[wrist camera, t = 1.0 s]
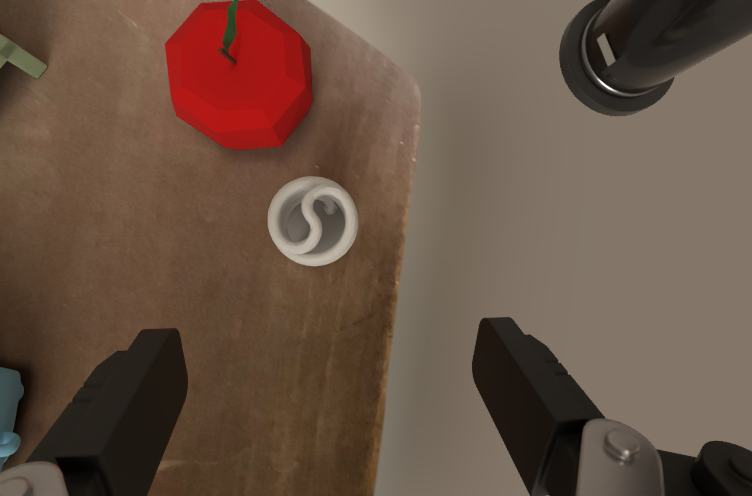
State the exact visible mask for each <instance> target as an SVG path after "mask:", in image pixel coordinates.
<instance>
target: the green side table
mask: <svg viewBox="0 0 752 496" xmlns="http://www.w3.org/2000/svg"><path fill="white" fill-rule="evenodd" d="M6 61H9V62H10V63H12V64H14V65H15V66H17V67H19V68H20V69H22V70H23V71H25V72H27V73H28V74H30V75H32V76H33V77H35V78H37V79H38V78H39V77H40V76H41V74H42V73H43V72H44V71H45V70H46V68H47V67H48V66H47V65H46V64H45V63H43V62H42V61H40V60H39V59H37V58H36V57H34V56H33V55H31V54H30V53H28V52H27V51H26V50H24V49H23V48H21V47H20V46H18V45H17V44H15V43H14V42H12V41H11V40H9V39H8V38H6V37H5V36H4V35H2V34H1V33H0V69H1V67H2V66H3V65H4V64H5V63H6Z"/></svg>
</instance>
